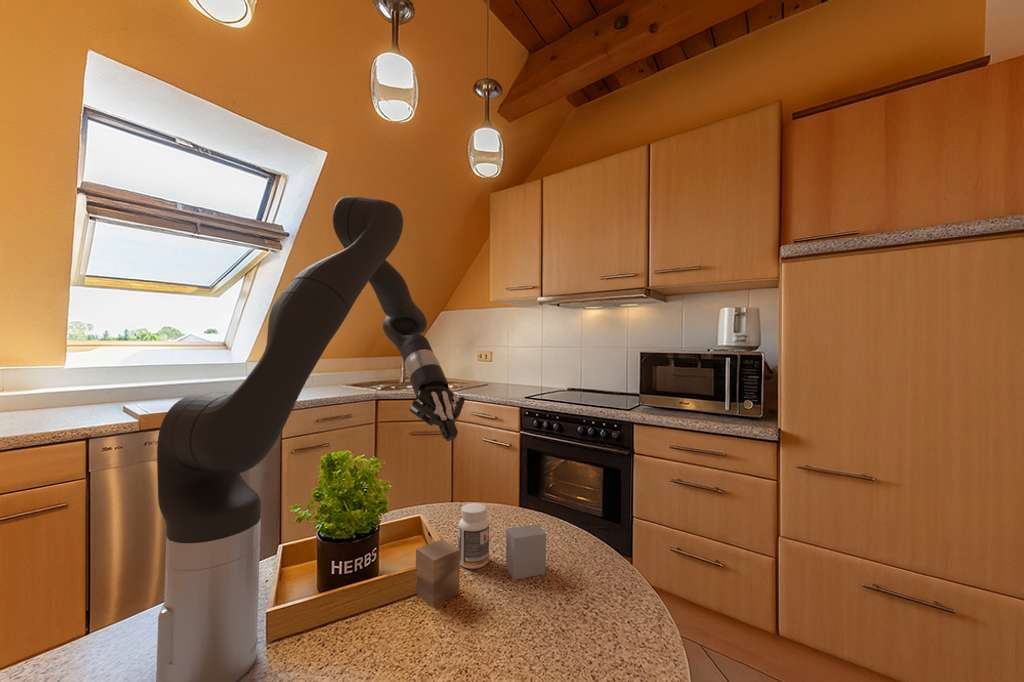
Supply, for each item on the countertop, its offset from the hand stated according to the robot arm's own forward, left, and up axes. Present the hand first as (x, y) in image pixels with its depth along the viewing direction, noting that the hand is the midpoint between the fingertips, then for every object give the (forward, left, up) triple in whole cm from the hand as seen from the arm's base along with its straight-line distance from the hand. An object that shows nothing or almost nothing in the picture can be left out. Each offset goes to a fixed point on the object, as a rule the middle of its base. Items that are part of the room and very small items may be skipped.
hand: (452, 438), depth 81 cm
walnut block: (-8, -15, -21) cm, 27 cm away
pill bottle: (+1, -9, -21) cm, 23 cm away
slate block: (+8, -16, -21) cm, 27 cm away
